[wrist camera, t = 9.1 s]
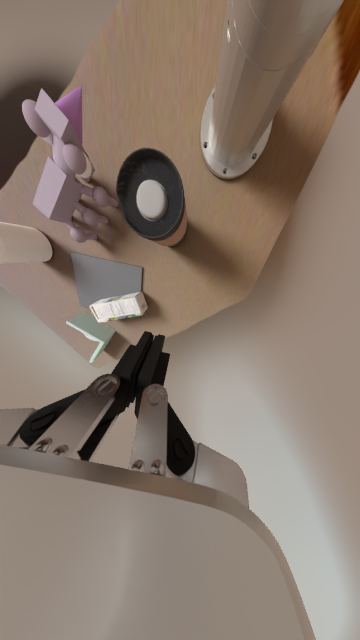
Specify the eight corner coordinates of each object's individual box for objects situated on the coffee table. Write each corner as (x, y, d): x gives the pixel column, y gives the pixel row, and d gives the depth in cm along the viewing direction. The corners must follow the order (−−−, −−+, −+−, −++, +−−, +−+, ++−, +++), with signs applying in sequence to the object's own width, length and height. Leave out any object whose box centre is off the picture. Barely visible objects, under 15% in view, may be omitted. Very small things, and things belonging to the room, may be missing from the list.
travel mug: (194, 226, 31) (199, 185, 13) (176, 254, 34) (160, 253, 16) (168, 202, 29) (133, 119, 11) (151, 234, 32) (104, 209, 14)
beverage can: (21, 222, 33) (-59, 206, 22) (53, 235, 34) (-9, 226, 23) (26, 254, 37) (-41, 254, 26) (55, 266, 38) (2, 270, 27)
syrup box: (148, 308, 41) (108, 315, 43) (142, 290, 38) (100, 299, 41) (142, 315, 36) (98, 323, 38) (134, 295, 33) (87, 305, 36)
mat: (71, 252, 35) (70, 252, 35) (142, 267, 36) (141, 267, 36) (81, 305, 43) (80, 305, 42) (140, 317, 43) (139, 317, 43)
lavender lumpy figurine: (99, 119, 24) (16, -6, 12) (142, 175, 28) (111, 120, 16) (59, 212, 32) (-17, 190, 20) (98, 248, 35) (53, 247, 23)
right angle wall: (85, 311, 44) (66, 321, 38) (116, 330, 47) (104, 342, 40) (75, 333, 49) (57, 345, 42) (104, 349, 52) (91, 363, 45)
